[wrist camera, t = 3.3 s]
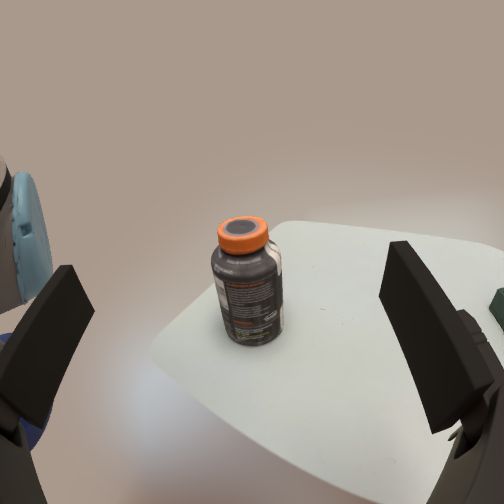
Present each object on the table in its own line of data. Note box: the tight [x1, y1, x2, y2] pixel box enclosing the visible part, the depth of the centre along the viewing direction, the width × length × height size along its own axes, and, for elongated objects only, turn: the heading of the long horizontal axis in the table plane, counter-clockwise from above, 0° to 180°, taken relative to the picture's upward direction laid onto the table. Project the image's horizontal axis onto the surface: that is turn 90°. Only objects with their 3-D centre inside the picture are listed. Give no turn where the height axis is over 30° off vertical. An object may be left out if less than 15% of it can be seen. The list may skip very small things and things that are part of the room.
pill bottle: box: [211, 216, 284, 345], centre depth 26 cm, size 6×6×11 cm
